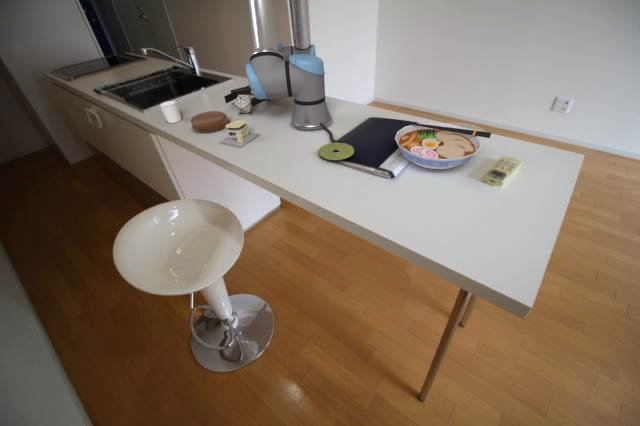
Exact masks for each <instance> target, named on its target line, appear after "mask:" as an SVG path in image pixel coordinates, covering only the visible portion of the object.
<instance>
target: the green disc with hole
mask: <svg viewBox="0 0 640 426" xmlns="http://www.w3.org/2000/svg"><path fill="white" fill-rule="evenodd" d="M334 151H339V152H334ZM317 152H318V153H317V154H318V155H319V157H321V158H322V159H325V160H329V161H341V160H346V159H347V158H350V157H352V156H353V155H354V153H355V148H354V147H353V145H352V146H351V145H348V144H345V143H334V142H330V143H326V144H324V145H322V146H320V147H319V149H318V150H317Z"/></svg>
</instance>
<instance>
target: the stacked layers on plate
mask: <svg viewBox="0 0 640 426" xmlns="http://www.w3.org/2000/svg"><path fill="white" fill-rule="evenodd" d="M246 123H248V121H247V120H243V119H238V120H235V121H232V122H229V124H227V125H226V127H225V129H226V132H227V133H228V134H227V138H226V139H225V140H223V141H221V142H220V143H222V144H225V145H231V146H235V147H239V148H241V147H242V146H244V145H246V144H247V143H249V142H250V141H252V140H253V139H254V138H256V137H257V136H258V134H255V133H251V132H250V129H249V128H248V127H249V124H246Z"/></svg>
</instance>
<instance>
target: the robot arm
mask: <svg viewBox="0 0 640 426" xmlns="http://www.w3.org/2000/svg"><path fill="white" fill-rule="evenodd" d="M247 2H248V12H249V22H250V23H249V24H250V31H251V42H252V50H253V52H252V53H251V54H250V57H249V62H248V63H246V64H245V72H246V73H245V74H246V77H247V80H248V85H245V86H242V87H238V88H233V89H231V90H230V93H228V94H226V95H224V102H225V104H228V103H230V102H232V101H235V100H236V99H237V97H238V94H239V95H248V93H249V96H250V97H252V96H254V97H253V98H251V104H252V108H254V107H255V106H257V105H259V104H260V103H262V102H266V101H267V102H271V100H272V99H282V98H283V99H284V98H293V102H294V104H293V109H292V114H291V119H290V120H291V125H292V127H293V128H294V129H297V130H301V131H317V130H322V129H324V130H325V131H326V133H328V135H329V140H330V142H331V143H339V142H338V141H339V140H336V139H334V137H333V136H334V135H333V133H332V132H331V130H330V129H329V128H328V127H329V125H331V123H332V115H331V113H330V109H329V108H328V104H327V101H326V85H325V84H326V82H325V74H326V73H325V72H326V71H325V65H324V61H323V59H322V58H321V57H319V56H317V55H316V54H317V53H316V45H315V44H312V40H311V39H312V37H311V20H310V2H309V0H288V3H289V11H290V12H289V13H290V21H291V29H292V30H291V31H292V40H293V41H292V42H293V45H290V46H289V45H288V46H287V45H285V46H284V45H283V42H282V41H278V33H277V23H276V13H275V3H274V2H275V1H274V0H247ZM237 93H238V94H237ZM347 143H348V142H347ZM347 143H345V144H347ZM353 144H354V143H353ZM353 144H348V145H351V146H352V147H353Z"/></svg>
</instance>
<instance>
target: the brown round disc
mask: <svg viewBox="0 0 640 426" xmlns="http://www.w3.org/2000/svg"><path fill="white" fill-rule="evenodd" d="M190 124H191V127H192V130H193V131H194V132H196V133H198V134H210V133H215V132H219V131H221V130H223V129H226V125H227V124H230V121H229V117H228V115H227V114H226V113H224V112H223V111H219V110H211V111H204V112H200V113H198V114H195V115H194V116H192V117H191V119H190Z"/></svg>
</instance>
